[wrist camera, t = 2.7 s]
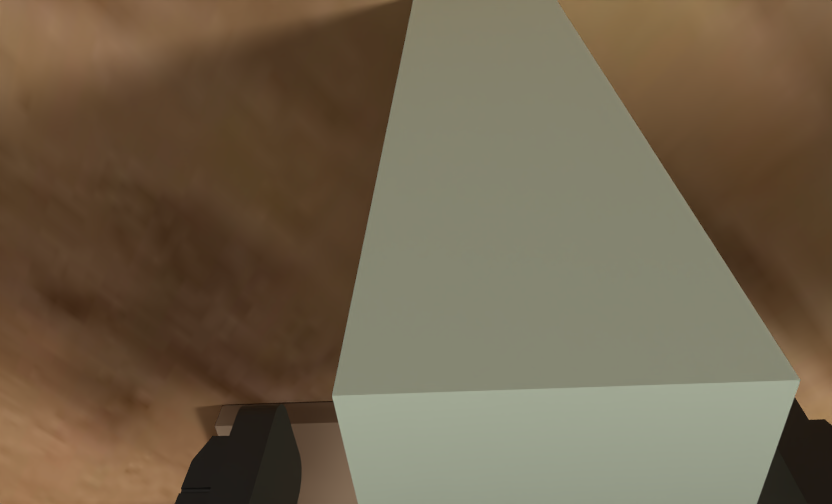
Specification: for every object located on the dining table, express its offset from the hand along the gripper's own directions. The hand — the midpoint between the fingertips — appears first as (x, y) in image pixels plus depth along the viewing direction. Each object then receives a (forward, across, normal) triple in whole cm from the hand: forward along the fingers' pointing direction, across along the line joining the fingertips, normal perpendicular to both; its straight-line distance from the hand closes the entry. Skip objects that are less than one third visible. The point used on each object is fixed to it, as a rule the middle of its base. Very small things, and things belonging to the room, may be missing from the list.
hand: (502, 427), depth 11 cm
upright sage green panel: (+8, 0, 0) cm, 8 cm away
